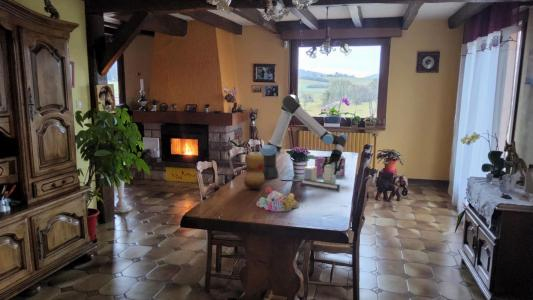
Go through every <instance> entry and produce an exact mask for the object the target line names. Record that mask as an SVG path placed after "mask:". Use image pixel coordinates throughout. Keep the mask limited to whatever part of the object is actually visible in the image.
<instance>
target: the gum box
mask: <svg viewBox="0 0 533 300" xmlns="http://www.w3.org/2000/svg"><path fill="white" fill-rule="evenodd" d="M330 156H331V155H330ZM330 156H327V155H326V156H315V157H314V166H315V167H317V176H323V170H324V169H323V168H322V166H323V164H324V162H325V159H326V157H330ZM342 158H343V160H344V161H343V163H342V166H341V169H340V171H337V173H336V176H340V175H341V176H342V175H343V176H344V175H346V174H345V172H346V169H345V168H346V157H344V156H343V155H341V159H342ZM329 160H330V159H329ZM329 160H328V162H329ZM328 162H327V163H328ZM339 163H340V160H339V161H338V166H339ZM326 165H327V164H326ZM331 165H335V163H332V164H331Z"/></svg>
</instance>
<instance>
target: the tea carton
mask: <svg viewBox="0 0 533 300" xmlns="http://www.w3.org/2000/svg"><path fill="white" fill-rule="evenodd" d="M334 170H335V165H331V164H329V165H326V166H324V178H323V182H327V183H333V184H334V183H335V182H336V178H337V177H336V176H337V175H334V178H333V179H332V178H331V176H332V173H333V171H334Z"/></svg>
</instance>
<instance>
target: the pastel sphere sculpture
mask: <svg viewBox="0 0 533 300" xmlns="http://www.w3.org/2000/svg"><path fill="white" fill-rule="evenodd" d="M265 193H266V194H267V196H266V197H267V198H266V197H263V196H261V197H260V198H259V200H257V201H256V203H255V204H256V207H258V206H259V207H258V208H262V207H264V210H266V211H267V210H271V211H270V212H273V211H274V212H275V213H276V212H290V211H292V210H293V209H295V208H299V201H297V200H296V199H295V197H296V194H294V193H292V192H290V193H289V194H288V195H284V194H283V193H281V192H278V190H273V188H272V187H269V186H268V187H266V188H265Z"/></svg>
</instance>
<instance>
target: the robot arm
mask: <svg viewBox="0 0 533 300" xmlns="http://www.w3.org/2000/svg"><path fill="white" fill-rule="evenodd" d="M280 111H281V114H280V116H279V118H278V121H277V122H276V126H275V129H274V131H273V134H272V136H271V139H270V140H268V142H267V143H266V145H263V146H262V147H261V149H260V153H261V154H263V156H264V168H263V174H264V179H267V180H269V179H270V180H271V179H272V180H273V179H277V178H279V171H278V168H277V159H278V158H279V157H280V156H281V151H282V147H283V145H282V143H283V140H284V137H285V135H286V132H287V129H288V127H289V124H290V122H291V119H292V117H293V116H295V117H296V118H297V119H298V120H299V121H300V122H302V124H304V126H305V127H307V128H308V129H309V130H310V131H311V132H312V133H313V134H315V136H317V138H319V139H320V140H321V141H322V142H323V144H324V145H325V146H330V145H333V147H332V151H331V154H330V157H326V159H325V162H324V164H323V166H322V168H323V169H324V166H326V164H327V165H329V164H332V163H335V170H334V171H333V173H332V176H331V178H332V179H333V178H334V175H336V173H337V171H340V169H341V166H342V163H343V161H344V160H343V158H342V159H341V156H343V152H344V149H345V146H346V144H347V141H348V136H347V135H346V134H345V133H339V134H336V133H333V132H330V131H328V130H327V129H325V128H324V127H323V126H322V125H321V124H320V122H318V121H317V120H316V119H314V118H313V116H311V115H310V114H309V112H307V111H306V110H305V109H304V108H303V106H302V105H301V103H300V98H299V97H298V96H297V95H295V94H292V93H290V94H287V95H285V96H284V97H283V98H282V101H281V107H280ZM329 159H330V160H329ZM328 160H329V162H328ZM339 160H340V163H339V166H338V161H339ZM327 162H328V163H327ZM336 176H337V175H336ZM322 179H324V170H323V175H322Z"/></svg>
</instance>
